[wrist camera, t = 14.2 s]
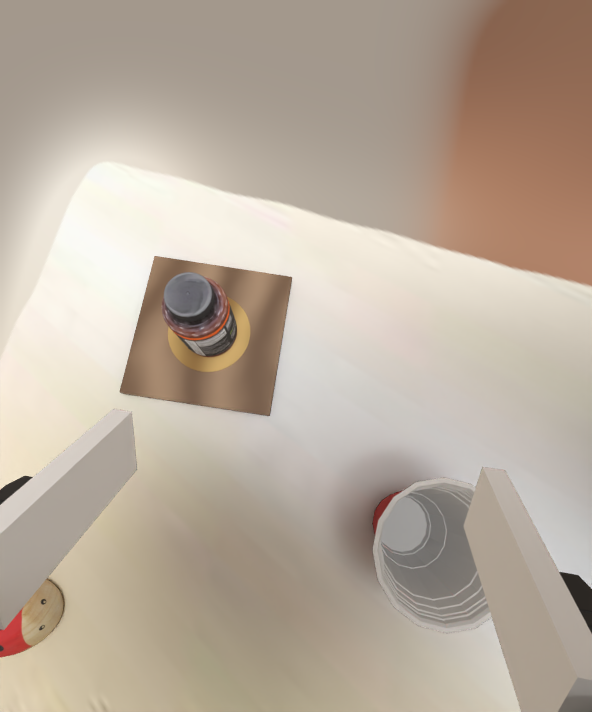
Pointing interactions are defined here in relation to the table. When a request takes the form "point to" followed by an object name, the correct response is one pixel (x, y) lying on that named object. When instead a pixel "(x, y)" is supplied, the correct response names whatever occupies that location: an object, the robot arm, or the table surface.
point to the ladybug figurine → (33, 621)
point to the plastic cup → (429, 556)
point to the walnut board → (220, 373)
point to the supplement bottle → (199, 314)
